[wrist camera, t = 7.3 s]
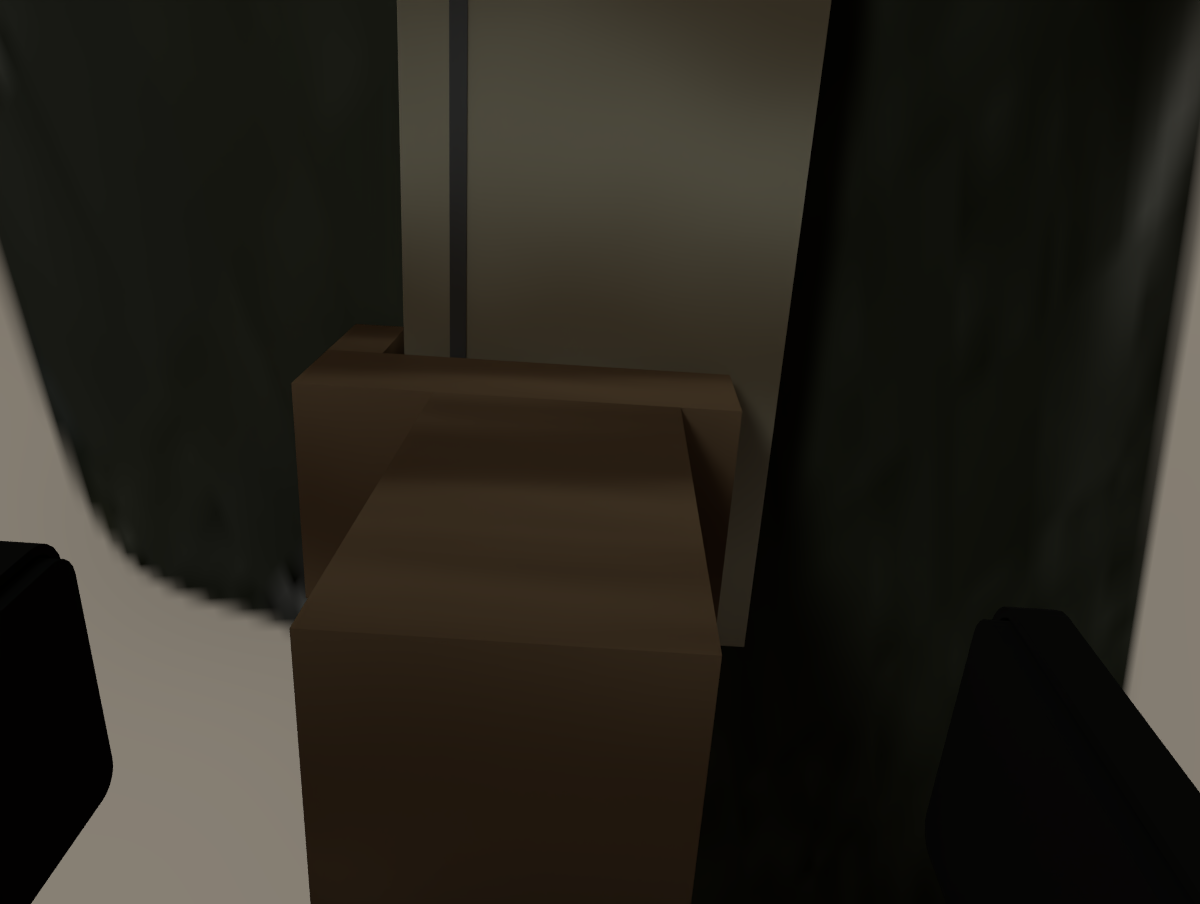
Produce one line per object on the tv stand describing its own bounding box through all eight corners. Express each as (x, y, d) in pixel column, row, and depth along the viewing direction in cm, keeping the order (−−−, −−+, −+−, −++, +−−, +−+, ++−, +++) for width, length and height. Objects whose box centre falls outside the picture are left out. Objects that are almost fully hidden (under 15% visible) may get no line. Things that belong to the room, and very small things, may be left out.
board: (420, -129, 16) (393, -156, 14) (822, -105, 16) (849, -129, 14) (428, 578, 21) (409, 626, 20) (733, 597, 21) (744, 647, 20)
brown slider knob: (355, 324, 19) (41, 612, 9) (719, 346, 19) (829, 662, 9) (363, 504, 20) (102, 931, 10) (700, 526, 20) (774, 974, 10)
